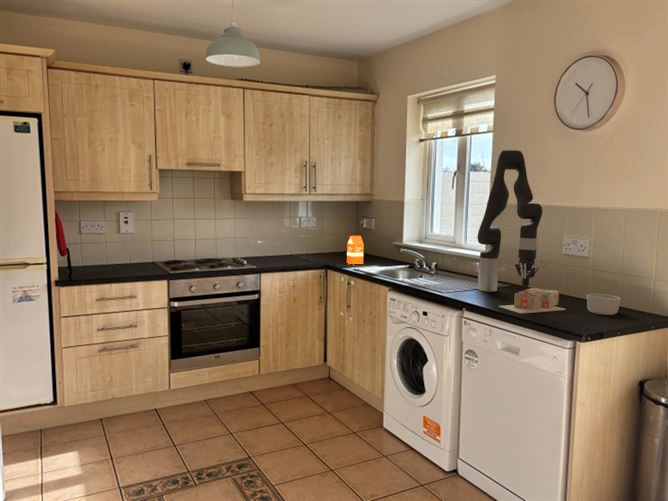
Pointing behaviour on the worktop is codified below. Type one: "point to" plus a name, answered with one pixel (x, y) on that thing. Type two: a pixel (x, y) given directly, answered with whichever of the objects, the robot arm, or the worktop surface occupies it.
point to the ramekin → (603, 304)
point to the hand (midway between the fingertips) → (525, 286)
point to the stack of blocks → (536, 298)
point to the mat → (523, 310)
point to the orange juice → (355, 250)
